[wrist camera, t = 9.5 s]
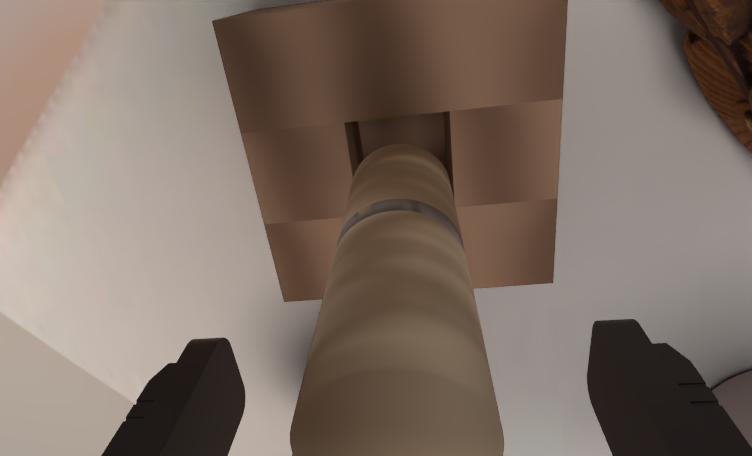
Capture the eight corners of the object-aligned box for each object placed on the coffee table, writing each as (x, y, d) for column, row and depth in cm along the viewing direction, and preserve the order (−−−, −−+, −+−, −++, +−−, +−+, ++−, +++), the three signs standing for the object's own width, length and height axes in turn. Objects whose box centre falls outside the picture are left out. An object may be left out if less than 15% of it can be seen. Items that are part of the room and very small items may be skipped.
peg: (448, 138, 19) (504, 361, 8) (453, 230, 20) (504, 510, 10) (344, 149, 19) (268, 374, 8) (358, 238, 21) (311, 515, 10)
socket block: (532, -28, 24) (569, -27, 18) (527, 227, 30) (553, 282, 25) (253, 10, 25) (211, 21, 20) (304, 246, 32) (284, 301, 26)
